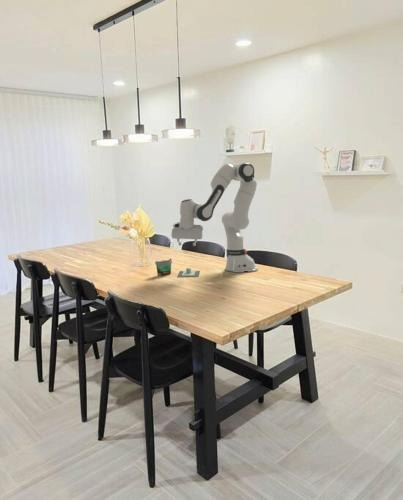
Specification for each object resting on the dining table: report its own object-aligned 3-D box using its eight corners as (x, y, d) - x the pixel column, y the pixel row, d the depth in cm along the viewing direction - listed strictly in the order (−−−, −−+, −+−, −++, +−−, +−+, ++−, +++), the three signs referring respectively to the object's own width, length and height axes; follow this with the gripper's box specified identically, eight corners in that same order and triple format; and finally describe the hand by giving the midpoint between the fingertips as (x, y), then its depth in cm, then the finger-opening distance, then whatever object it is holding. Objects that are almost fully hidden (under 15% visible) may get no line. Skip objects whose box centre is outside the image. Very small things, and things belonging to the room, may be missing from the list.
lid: (195, 271, 267) (195, 266, 266) (194, 276, 254) (193, 270, 254) (183, 271, 268) (183, 266, 267) (181, 276, 255) (181, 270, 254)
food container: (161, 277, 255) (160, 262, 254) (155, 276, 260) (155, 261, 258) (176, 274, 263) (175, 259, 261) (171, 272, 268) (170, 258, 266)
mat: (200, 271, 269) (200, 270, 269) (198, 277, 252) (198, 277, 252) (179, 271, 270) (179, 271, 270) (176, 278, 253) (176, 277, 253)
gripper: (203, 224, 258) (203, 245, 260) (173, 223, 261) (173, 244, 264) (201, 225, 252) (201, 246, 254) (170, 224, 255) (171, 245, 258)
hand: (187, 245), depth 259 cm, fingers open, 8 cm apart
